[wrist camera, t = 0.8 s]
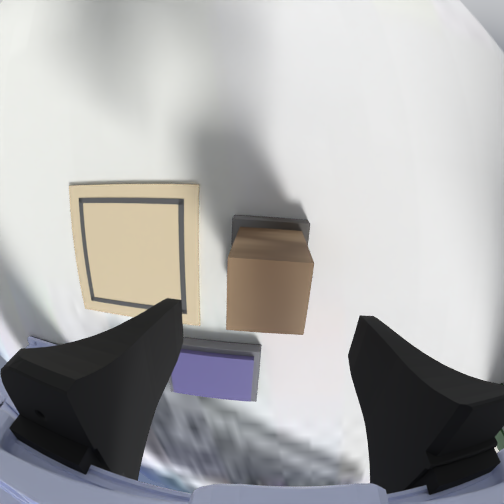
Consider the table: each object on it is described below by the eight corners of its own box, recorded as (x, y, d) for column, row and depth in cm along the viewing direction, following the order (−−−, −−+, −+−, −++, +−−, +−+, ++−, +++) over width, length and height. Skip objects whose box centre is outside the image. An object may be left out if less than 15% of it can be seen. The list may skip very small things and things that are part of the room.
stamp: (232, 281, 22) (216, 336, 15) (234, 214, 20) (217, 246, 14) (300, 286, 22) (311, 342, 15) (307, 219, 20) (325, 253, 13)
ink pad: (173, 384, 26) (169, 394, 24) (166, 335, 24) (161, 345, 22) (256, 393, 25) (256, 405, 24) (261, 344, 23) (260, 356, 22)
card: (86, 307, 24) (85, 308, 23) (70, 185, 20) (68, 186, 20) (200, 324, 23) (199, 326, 23) (199, 184, 20) (198, 184, 19)
